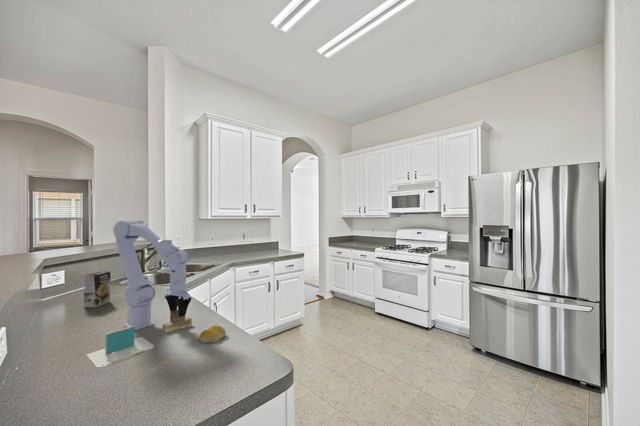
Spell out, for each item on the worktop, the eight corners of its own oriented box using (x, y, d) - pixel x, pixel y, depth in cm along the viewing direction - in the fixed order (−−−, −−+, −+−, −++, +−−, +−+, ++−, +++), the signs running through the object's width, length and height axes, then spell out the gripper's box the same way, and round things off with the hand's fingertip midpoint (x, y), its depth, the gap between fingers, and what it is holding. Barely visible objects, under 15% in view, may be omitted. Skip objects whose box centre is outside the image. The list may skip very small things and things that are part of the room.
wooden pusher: (162, 331, 105) (162, 314, 105) (187, 323, 113) (187, 307, 113) (166, 334, 103) (166, 316, 103) (192, 325, 111) (192, 309, 111)
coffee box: (96, 307, 132) (96, 275, 132) (83, 307, 132) (83, 275, 132) (110, 301, 141) (111, 271, 141) (98, 301, 141) (99, 271, 141)
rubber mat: (86, 355, 87) (86, 354, 87) (141, 337, 100) (141, 336, 100) (97, 368, 79) (97, 368, 79) (156, 347, 92) (156, 347, 92)
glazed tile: (105, 353, 88) (105, 333, 88) (133, 343, 94) (133, 325, 95) (106, 354, 87) (106, 334, 87) (134, 345, 94) (134, 326, 94)
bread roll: (194, 342, 97) (194, 330, 97) (213, 332, 105) (213, 321, 105) (212, 346, 94) (212, 334, 94) (229, 335, 102) (229, 325, 102)
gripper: (159, 279, 109) (159, 312, 109) (176, 285, 101) (176, 321, 101) (177, 276, 115) (177, 308, 115) (194, 281, 106) (194, 315, 106)
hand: (177, 313), depth 108 cm, fingers open, 7 cm apart
